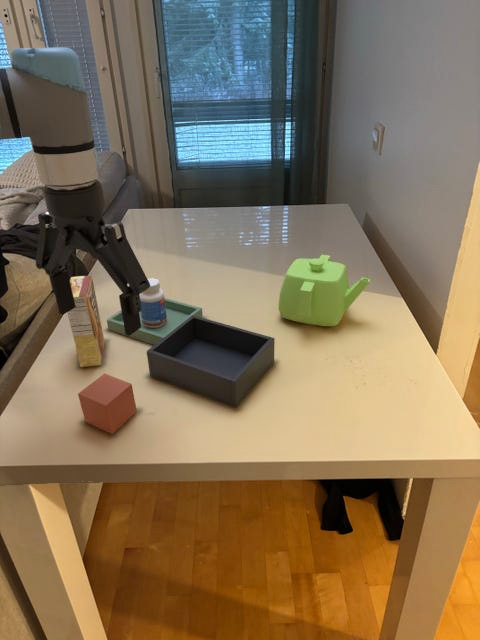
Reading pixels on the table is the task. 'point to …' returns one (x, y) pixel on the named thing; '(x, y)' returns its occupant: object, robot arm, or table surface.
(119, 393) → the block
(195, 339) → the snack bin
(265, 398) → the table surface
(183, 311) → the medicine tray
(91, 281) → the candy box
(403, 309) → the table surface
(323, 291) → the teapot
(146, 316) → the pill bottle
